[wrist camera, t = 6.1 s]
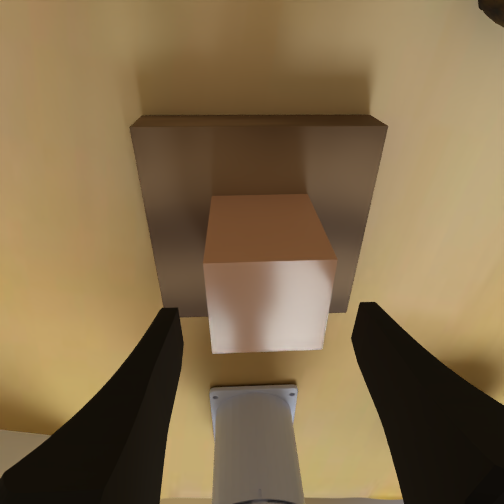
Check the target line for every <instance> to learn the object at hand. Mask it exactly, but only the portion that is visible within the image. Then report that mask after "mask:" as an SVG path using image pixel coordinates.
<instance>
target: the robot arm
mask: <svg viewBox="0 0 504 504" xmlns="http://www.w3.org/2000/svg"><path fill="white" fill-rule="evenodd" d="M351 339H352V343H353V347H354V351H355V355H356V359H357V362H358V365H359V367H360V370H361V372H362V375H363V377H364V380H365V382H366V385H367V387H368V390H369V392H370V395H371V397H372V399H373V402H374V404H375V407H376V409H377V412H378V414H379V417H380V420H381V422H382V425H383V428H384V432H385V435H386V438H387V442H388V445H389V448H390V452H391V455H392V459H393V463H394V466H395V470H396V474H397V477H398V481H399V485H400V489H401V493H402V497H403V501H404V504H504V405H502V404H501V403H499V402H498V401H496V400H494V399H493V398H491V397H490V396H488V395H487V394H485V393H483V392H482V391H480V390H479V389H477V388H476V387H474V386H473V385H471V384H470V383H468V382H467V381H466V380H464V379H463V378H461V377H460V376H459V375H457V374H456V373H455V372H453V371H452V370H451V369H449V368H448V367H447V366H445V365H444V364H443V363H441V362H440V361H439V360H438V359H437V358H435V357H434V356H433V355H432V354H431V353H429V352H428V351H427V350H426V349H425V348H423V347H422V346H421V345H420V344H419V343H418V342H417V341H416V340H414V339H413V338H412V337H411V336H410V335H409V334H408V333H407V332H406V331H405V330H404V329H403V328H402V327H400V326H399V325H398V324H397V323H396V322H395V321H394V320H393V319H392V318H391V317H390V316H389V315H388V314H387V313H386V312H385V311H384V310H383V309H382V308H381V307H380V306H379V305H378V304H377V303H376V302H360V304H359V308H358V312H357V316H356V320H355V325H354V329H353V333H352V337H351ZM183 345H184V342H183V336H182V330H181V323H180V317H179V310H178V307H174V308H162V309H160V311H159V312H158V314H157V316H156V317H155V319H154V321H153V322H152V324H151V325H150V327H149V328H148V330H147V331H146V333H145V334H144V336H143V337H142V339H141V340H140V342H139V343H138V344H137V346H136V347H135V349H134V350H133V351H132V353H131V354H130V355H129V356H128V358H127V359H126V360H125V362H124V363H123V364H122V365H121V367H120V368H119V369H118V370H117V372H116V373H115V374H114V375H113V376H112V377H111V379H110V380H109V381H108V382H107V383H106V384H105V385H104V386H103V387H102V388H101V389H100V391H99V392H98V393H97V394H96V395H95V396H94V397H93V398H92V399H91V400H90V401H89V402H88V403H87V404H86V405H85V406H84V407H83V408H82V409H81V410H80V411H79V412H78V413H76V414H75V415H74V416H73V417H72V418H71V419H70V420H69V421H68V422H66V423H65V424H64V425H63V426H62V427H61V428H60V429H58V430H57V431H56V432H55V433H54V434H53V435H51V436H50V437H49V438H48V439H47V440H46V441H44V442H43V443H42V444H41V445H39V446H38V447H37V448H36V449H34V450H33V451H32V452H30V453H29V454H28V455H26V456H25V457H24V458H22V459H21V460H20V461H19V462H17V463H16V464H15V465H13V466H12V467H11V468H9V469H8V470H6V471H5V472H4V473H3V475H2V477H1V478H0V504H159V503H160V493H161V484H162V475H163V466H164V458H165V449H166V441H167V434H168V428H169V423H170V418H171V414H172V409H173V404H174V400H175V395H176V391H177V386H178V381H179V377H180V372H181V366H182V356H183ZM297 393H298V389H297V386H296V385H293V384H290V385H264V386H237V387H214V388H211V389H210V393H209V395H210V404H211V414H212V423H213V432H214V441H215V447H214V469H213V492H212V504H305V501H304V494H303V488H302V481H301V474H300V468H299V461H298V455H297V448H296V442H295V435H294V428H293V422H294V415H295V407H296V400H297Z"/></svg>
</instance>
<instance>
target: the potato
mask: <svg viewBox="0 0 504 504" xmlns="http://www.w3.org/2000/svg"><path fill="white" fill-rule="evenodd" d="M478 5H479V8H480V10H483V11H484V13H485V14H486V15H487V16H488V17H489V18H490V19H492V20H493V21H494V22H495V23H497V24H499V25H501V26H502V27H504V0H478Z"/></svg>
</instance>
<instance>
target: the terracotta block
mask: <svg viewBox="0 0 504 504" xmlns="http://www.w3.org/2000/svg"><path fill="white" fill-rule="evenodd" d="M337 261H338V259H337V257H336V255H335V253H334V250H333V248H332V246H331V244H330V242H329V239H328V237H327V235H326V233H325V231H324V228H323V226H322V224H321V222H320V220H319V218H318V215H317V213H316V211H315V209H314V207H313V204H312V202H311V200H310V198H309V196H308V194H277V195H232V196H212V197H211V205H210V213H209V220H208V228H207V236H206V244H205V251H204V259H203V269H204V279H205V288H206V298H207V308H208V317H209V327H210V336H211V346H212V354H220V353H245V352H270V351H295V350H320V349H322V348H323V343H324V337H325V331H326V325H327V319H328V313H329V308H330V302H331V296H332V290H333V284H334V278H335V272H336V267H337Z"/></svg>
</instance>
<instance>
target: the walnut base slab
mask: <svg viewBox="0 0 504 504" xmlns="http://www.w3.org/2000/svg"><path fill="white" fill-rule="evenodd" d="M387 129H388V126H387V125H386V124H384V123H382V122H381V121H379V120H377V119H376V118H374V117H373V116H371V115H162V116H141V117H140V118H139V119H138V120H137V121H136V122H135V123H133V124H132V125H131V126H130V132H131V138H132V143H133V148H134V153H135V159H136V164H137V169H138V175H139V180H140V185H141V190H142V196H143V201H144V206H145V211H146V217H147V222H148V227H149V232H150V238H151V243H152V248H153V254H154V259H155V264H156V269H157V275H158V280H159V285H160V290H161V296H162V301H163V306H164V308H174V307H178V310H179V317H208V308H207V298H206V288H205V279H204V269H203V259H204V251H205V244H206V236H207V228H208V220H209V213H210V205H211V197H212V196H232V195H277V194H308V196H309V198H310V200H311V202H312V204H313V207H314V209H315V211H316V213H317V215H318V218H319V220H320V222H321V224H322V226H323V228H324V231H325V233H326V235H327V237H328V239H329V242H330V244H331V246H332V248H333V250H334V253H335V255H336V257H337V259H338V261H337V267H336V272H335V278H334V284H333V290H332V296H331V302H330V308H329V313H346V312H347V307H348V303H349V299H350V294H351V290H352V285H353V281H354V276H355V272H356V267H357V263H358V258H359V254H360V249H361V245H362V240H363V236H364V232H365V227H366V223H367V218H368V214H369V209H370V205H371V200H372V196H373V191H374V187H375V182H376V178H377V173H378V169H379V165H380V160H381V156H382V151H383V147H384V142H385V138H386V133H387Z"/></svg>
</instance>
